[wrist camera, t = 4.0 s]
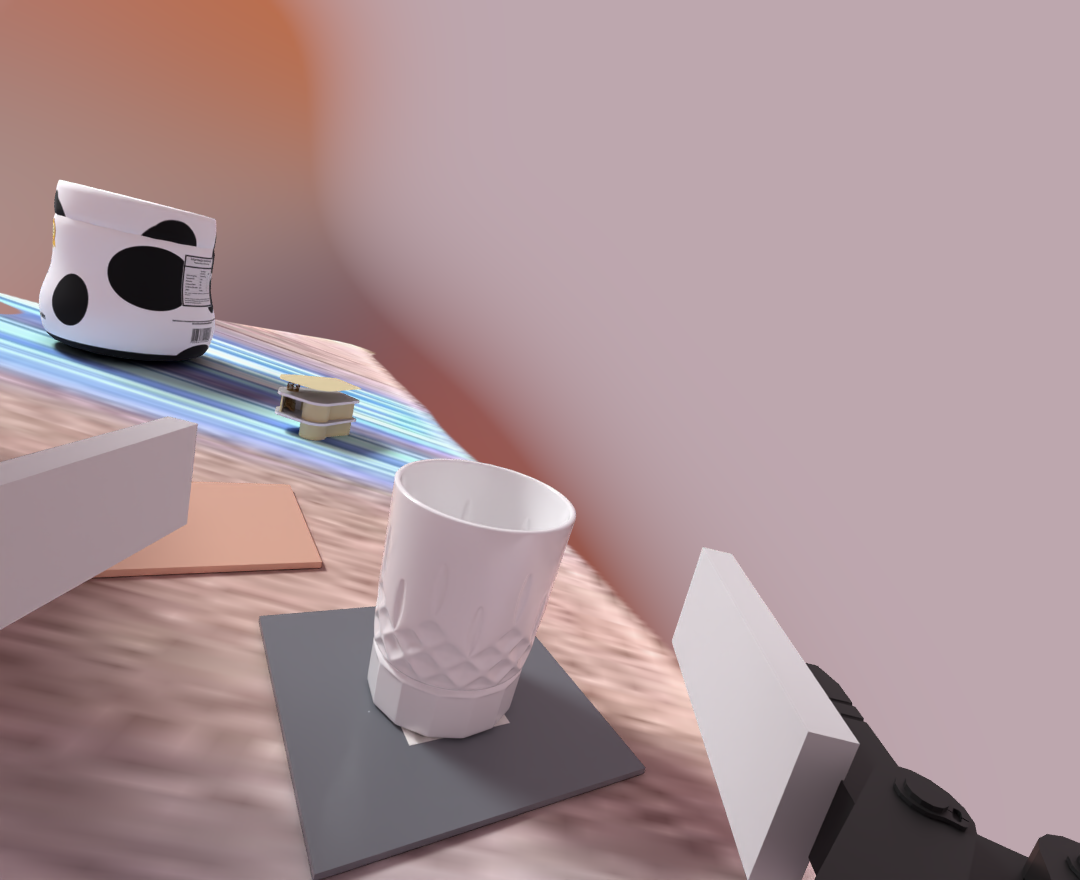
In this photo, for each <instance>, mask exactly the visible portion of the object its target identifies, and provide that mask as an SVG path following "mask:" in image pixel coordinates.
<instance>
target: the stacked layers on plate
mask: <svg viewBox="0 0 1080 880" xmlns="http://www.w3.org/2000/svg"><path fill="white" fill-rule="evenodd" d="M280 378H281V379H283V380H286V381H289V383H291V382H292V383H295V384H298V386H297V385H296V387H294V386H293V385H294V384H293V385H292V384H289V383H288V384H289V385H287V387H279V389H278V394H280V395H282V397H281V403H280V406H277V407H276V410H275V414H277V415H280V416H283V417H286V418H289V419H292V420H295V421H298V422H300V429H299V436H300V437H302V438H305V439H309V440H324V439H325V437H334V436H344V435H349V432H350V426H351V422H356V419H355V418H353V417H352V414H353V409H354V404H355V403H359V400H357V399H355V398H353V397H350V396H348V395H346V394H343V393H341V392H339V391H342V390H354V389H361V388H359V387H356V386H354V385H352V384H349V383H347V382H344V381H342V380H339V379H336V378H326V377H314V376H303V375H281V376H280ZM300 385H302V386H305V387H308V388H301V387H300ZM290 386H291V387H290Z"/></svg>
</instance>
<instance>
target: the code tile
mask: <svg viewBox="0 0 1080 880" xmlns="http://www.w3.org/2000/svg"><path fill="white" fill-rule="evenodd" d="M375 609H376V607H364V608H352V609H340V610H328V611H316V612H304V613H292V614H280V615H268V616H259V625H260V630H261V635H262V639H263V644H264V649H265V654H266V659H267V663H268V668H269V673H270V678H271V683H272V687H273V692H274V697H275V702H276V707H277V711H278V716H279V721H280V726H281V731H282V735H283V740H284V745H285V750H286V755H287V759H288V764H289V769H290V774H291V779H292V783H293V788H294V793H295V798H296V803H297V807H298V812H299V817H300V822H301V827H302V831H303V836H304V841H305V846H306V851H307V855H308V860H309V865H310V870H311V875H312V879H313V880H320V879H324V878H327V877H330V876H333V875H336V874H339V873H342V872H345V871H348V870H351V869H354V868H357V867H360V866H363V865H366V864H369V863H372V862H375V861H378V860H381V859H384V858H387V857H390V856H393V855H397V854H400V853H403V852H406V851H409V850H412V849H415V848H418V847H421V846H424V845H427V844H430V843H433V842H436V841H439V840H442V839H445V838H448V837H451V836H454V835H457V834H460V833H463V832H466V831H469V830H473V829H476V828H479V827H482V826H485V825H488V824H491V823H494V822H497V821H500V820H503V819H506V818H509V817H512V816H515V815H518V814H521V813H524V812H527V811H530V810H533V809H536V808H539V807H542V806H546V805H549V804H552V803H555V802H558V801H561V800H564V799H567V798H570V797H573V796H576V795H579V794H582V793H585V792H588V791H591V790H594V789H597V788H600V787H603V786H606V785H609V784H612V783H615V782H619V781H622V780H625V779H628V778H631V777H634V776H637V775H640V774H643V773H644V771H645V767H644V765H643V764H642V763H641V762H640V761H639V759H638V758H637V757H636V756H635V755H634V753H633V752H632V751H631V750H630V749H629V747H628V746H627V745H626V744H625V743H624V741H623V740H622V739H621V738H620V737H619V735H618V734H617V733H616V732H615V731H614V729H613V728H612V727H611V726H610V725H609V723H608V722H607V721H606V720H605V719H604V718H603V716H602V715H601V714H600V713H599V712H598V710H597V709H596V708H595V707H594V706H593V704H592V703H591V702H590V701H589V700H588V698H587V697H586V696H585V695H584V694H583V692H582V691H581V690H580V689H579V688H578V686H577V685H576V684H575V683H574V682H573V680H572V679H571V678H570V677H569V676H568V674H567V673H566V672H565V671H564V670H563V668H562V667H561V666H560V665H559V664H558V662H557V661H556V660H555V659H554V658H553V657H552V655H551V654H550V653H549V652H548V651H547V649H546V648H545V647H544V646H543V645H542V643H541V642H540V641H539V640H538V639H537V637H536V636H535V639H534V642H533V645H532V648H531V650H530V653H529V655H528V657H527V659H526V661H525V663H524V665H523V667H522V670H521V674H520V677H519V680H518V683H517V686H516V689H515V692H514V696H513V699H512V702H511V705H510V708H509V710H508V711H507V712H506V713H505V714H504V715H503V716H502V718H501V719H500V720H499V721H498V722H497V723H496V724H495V725H494V727H493V728H491V729H488V730H486V731H483V732H480V733H477V734H474V735H471V736H468V737H466V738H436V737H426V736H423V735H421V734H418V733H416V732H413V731H411V730H408V729H406V728H403V727H401V726H398V725H396V724H394V723H393V722H392V721H391V720H390V719H389V718H388V717H387V716H386V715H385V714H384V713H383V712H382V711H381V710H380V709H379V708H378V707H377V706H376V705H375V704H374V703H373V699H372V695H371V691H370V688H369V684H368V679H367V677H368V670H369V663H370V657H371V651H372V645H373V639H374V619H375Z"/></svg>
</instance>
